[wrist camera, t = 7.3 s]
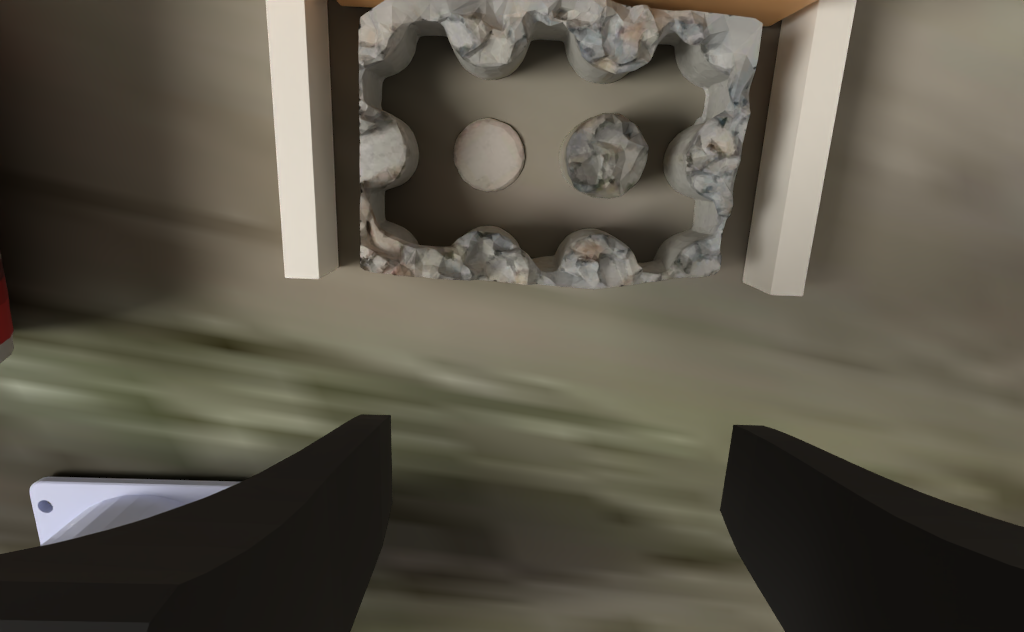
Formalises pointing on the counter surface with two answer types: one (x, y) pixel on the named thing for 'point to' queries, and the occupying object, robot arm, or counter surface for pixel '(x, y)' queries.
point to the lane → (782, 174)
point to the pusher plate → (693, 7)
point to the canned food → (5, 318)
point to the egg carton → (584, 152)
